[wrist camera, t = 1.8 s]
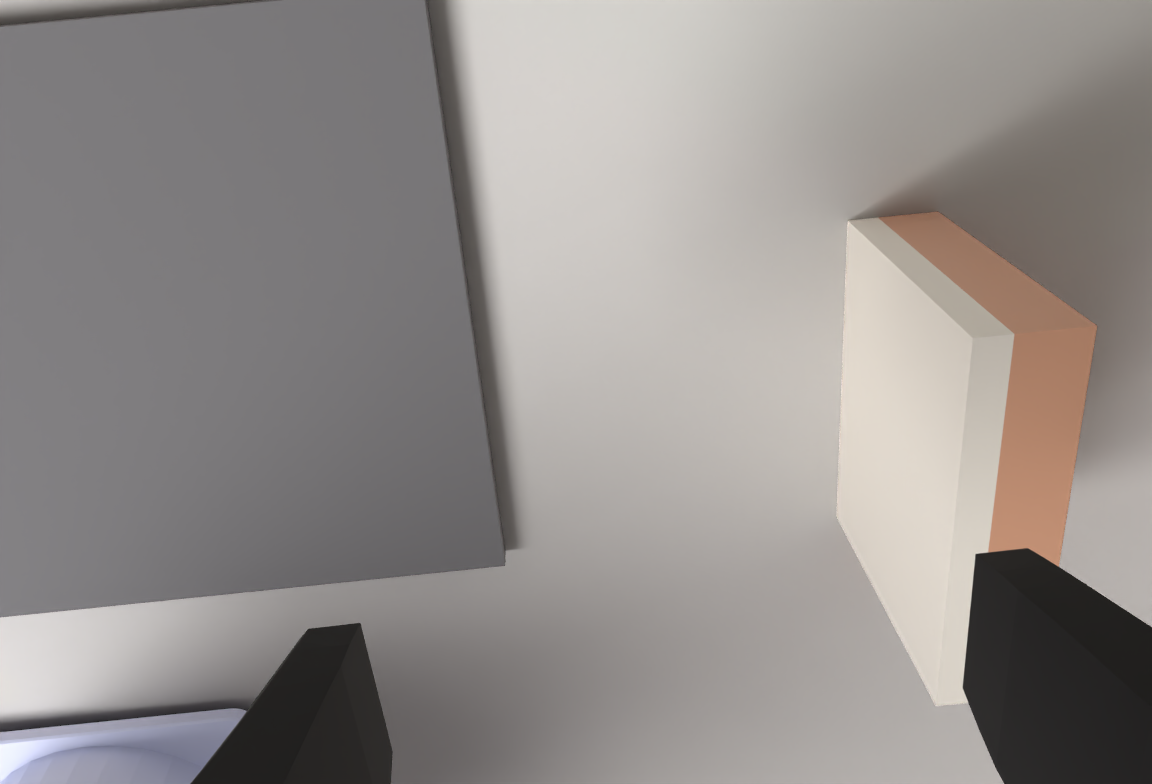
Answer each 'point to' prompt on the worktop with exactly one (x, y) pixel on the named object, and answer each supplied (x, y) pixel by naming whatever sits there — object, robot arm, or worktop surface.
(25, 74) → the mat
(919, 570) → the tile
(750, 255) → the worktop surface
